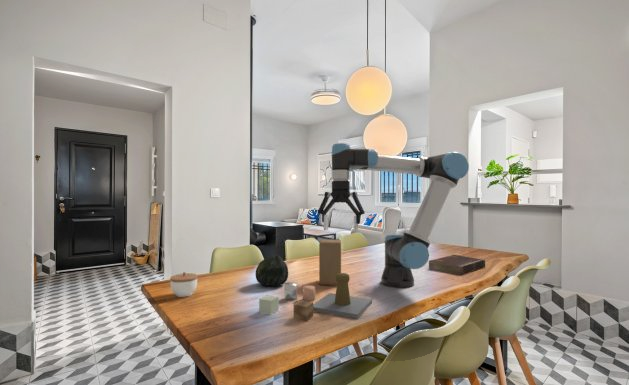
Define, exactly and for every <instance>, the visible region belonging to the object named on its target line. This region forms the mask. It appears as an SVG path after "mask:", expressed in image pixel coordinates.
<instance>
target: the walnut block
mask: <svg viewBox="0 0 629 385" xmlns="http://www.w3.org/2000/svg"><path fill="white" fill-rule="evenodd" d="M313 304H314V301H312V302H308V301H303V299H302V300H299V301H297V302H295V303H294V304H293V320H296V321H302V322H307V323H308V322H309V321H310V320H311V319H312V318H313V317H314V311H313Z"/></svg>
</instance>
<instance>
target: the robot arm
mask: <svg viewBox="0 0 629 385" xmlns="http://www.w3.org/2000/svg"><path fill="white" fill-rule="evenodd" d="M350 146H351V145H350V144H349V143H344V142H339V143H338V142H337V143H334V144H333V145H332V146H331V180H332V181H331V192H329V191H325V192H324V197H323V199H322V201H321V204H320V206H319V207H318V210H317V214H320V215H321V223H323V231H328V230H329V215H328V213H329V211H330V209H331V208H332V207H334V205H335V204H336V203H345V204H346V205H348V207H349V208H350V210H351V211H352V212H353V213H354V216H353V226H354V227H353V232H354V233H357V232H359V224H360V223H361V216H363V215H365V210H364V208H363V206H362V204H361V202H360V199H359V197H358V192H357V191H353V192H350V189H351V188H350V181H349V180H350V170H354V171H355V170H356V171H357V170H361V171H362V170H363V171H375V172H386V173H398V174H407V175H415V176H416V177H418V178H425V179H430V180H431V181H430V184H429V185H428V189H427V190H426V193H425V195H424V196H423V199H422V201H421V203H420V206H419V208H418V210H417V212H416V215H415V217H414V219H413V221H412V223H411V226H410V228H409V229H408V230H405V231H404V232H403V234H387V235H386V236H385V238H384V268H383V271H382V274H381V277H380V279H381V280H380V283H381V284H382V285H384V286H388V287H393V288H409V287H412V286H414V285H415V279H414V278H415V277H414V275H413V272H412V270H419V269H421V268H423V267H424V266H425V265H426V264H427V263H428V262H429V260H430V259H429V258H430V252H429V247H430V245H431V242H430V235H431V233H432V231H433V228H434V227H435V224H436V222H437V220H438V218H439V215H440V213H441V211H442V210H443V206H444V204H445V202H446V200H447V198H448V196H449V193H450V191H451V189H454V188H456V187H457V185H458V183H459V181H460V179H462V178H463V179H464V177H466V175H468V172H469V167H470V164H469V161H468V159H467V157H466V156H465V155H464V154H462V153H461V152H459V151H449V152H446V153H443V154H442V153H441V154H438V155H433V156H426V157H425V156H419V157H418V158H413V157H404V156H392V155H383V154H378V151H377V149H371V148H351V147H350ZM330 197H331V200H330V202H329V203H328V201H329V199H330ZM350 197H351V198H352V200H353V202H354V203H355V205H356V206H355V205H354V203H353V202H352V201H351V199H350ZM327 203H328V204H327Z"/></svg>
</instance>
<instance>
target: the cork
mask: <svg viewBox="0 0 629 385" xmlns="http://www.w3.org/2000/svg"><path fill="white" fill-rule="evenodd" d="M350 279H351V277H350V275H349V274H348V273H346V272H341V273H338V274H337V275H336V281H337V285H336V287H335V288H336V289H335V294H336V296H335V304H337V305H341V306H345V305H350V304H351V302H350V296H351V295H350V288H349V282H350Z"/></svg>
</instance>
